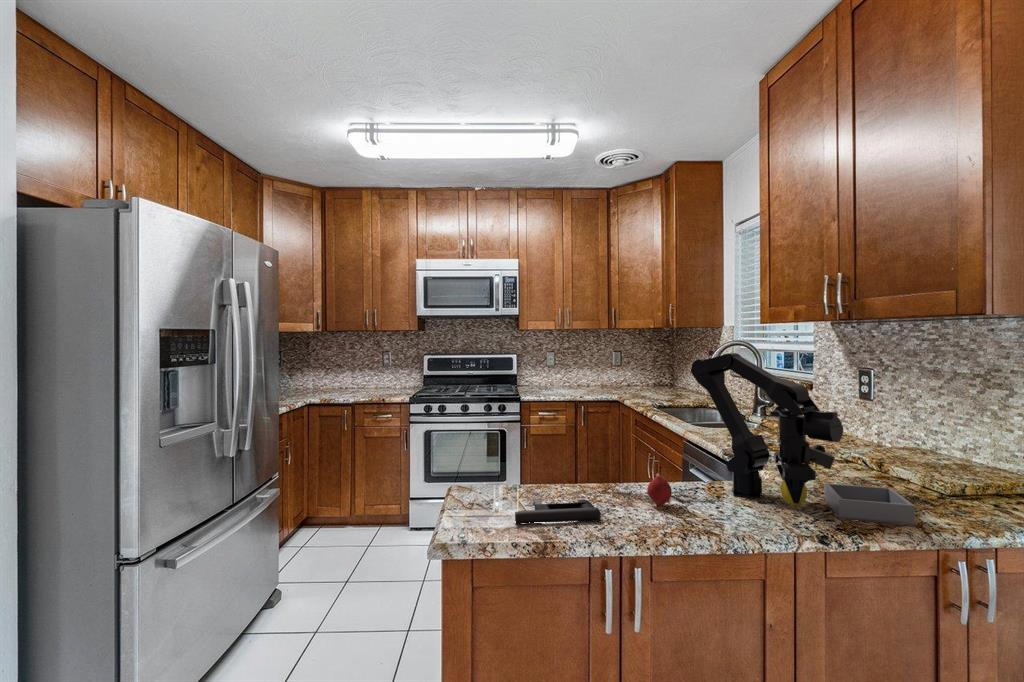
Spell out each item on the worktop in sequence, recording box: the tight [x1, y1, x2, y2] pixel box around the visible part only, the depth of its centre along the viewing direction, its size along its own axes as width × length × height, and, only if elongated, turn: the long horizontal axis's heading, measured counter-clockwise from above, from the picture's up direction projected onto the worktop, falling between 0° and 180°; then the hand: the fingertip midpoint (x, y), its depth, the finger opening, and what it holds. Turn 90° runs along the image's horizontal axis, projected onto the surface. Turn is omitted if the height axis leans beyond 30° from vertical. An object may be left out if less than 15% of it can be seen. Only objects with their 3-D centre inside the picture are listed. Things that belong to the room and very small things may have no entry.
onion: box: [646, 473, 673, 507], centre depth 123 cm, size 6×6×8 cm
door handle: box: [514, 498, 602, 524], centre depth 119 cm, size 3×20×16 cm
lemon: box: [780, 480, 808, 508], centre depth 120 cm, size 6×6×8 cm
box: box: [823, 482, 916, 527], centre depth 116 cm, size 14×14×4 cm
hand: (793, 499), depth 120 cm, fingers closed on lemon, 5 cm apart
